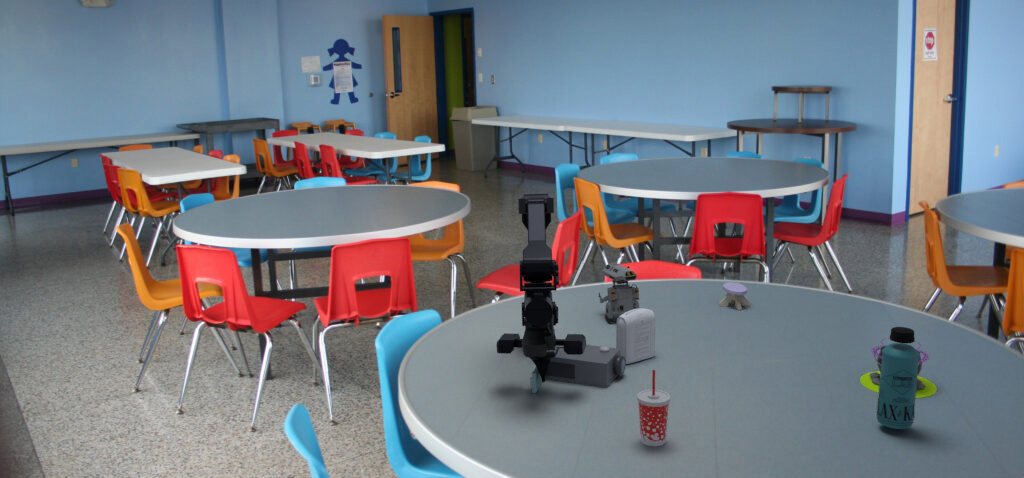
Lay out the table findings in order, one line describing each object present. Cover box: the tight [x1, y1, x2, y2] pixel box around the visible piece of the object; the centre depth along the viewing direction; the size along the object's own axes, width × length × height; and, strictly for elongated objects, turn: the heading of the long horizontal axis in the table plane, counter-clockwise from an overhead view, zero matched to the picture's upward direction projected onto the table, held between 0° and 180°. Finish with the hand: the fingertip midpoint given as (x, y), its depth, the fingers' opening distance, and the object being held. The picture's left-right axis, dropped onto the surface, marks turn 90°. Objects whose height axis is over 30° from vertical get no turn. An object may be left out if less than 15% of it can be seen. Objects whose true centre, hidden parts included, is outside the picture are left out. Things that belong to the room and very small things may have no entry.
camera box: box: [546, 344, 627, 388], centre depth 183 cm, size 18×10×6 cm, turn 65°
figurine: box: [598, 262, 640, 324], centre depth 222 cm, size 9×12×15 cm
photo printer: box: [615, 307, 656, 365], centre depth 191 cm, size 10×4×12 cm, turn 123°
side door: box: [529, 366, 543, 394], centre depth 177 cm, size 9×2×5 cm, turn 166°
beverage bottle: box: [876, 326, 919, 430], centre depth 150 cm, size 6×7×20 cm
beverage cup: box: [636, 369, 671, 447], centre depth 149 cm, size 6×6×14 cm
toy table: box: [718, 281, 751, 311], centre depth 231 cm, size 10×9×6 cm
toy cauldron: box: [859, 337, 938, 399], centre depth 172 cm, size 15×15×11 cm
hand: (543, 381), depth 175 cm, fingers closed
